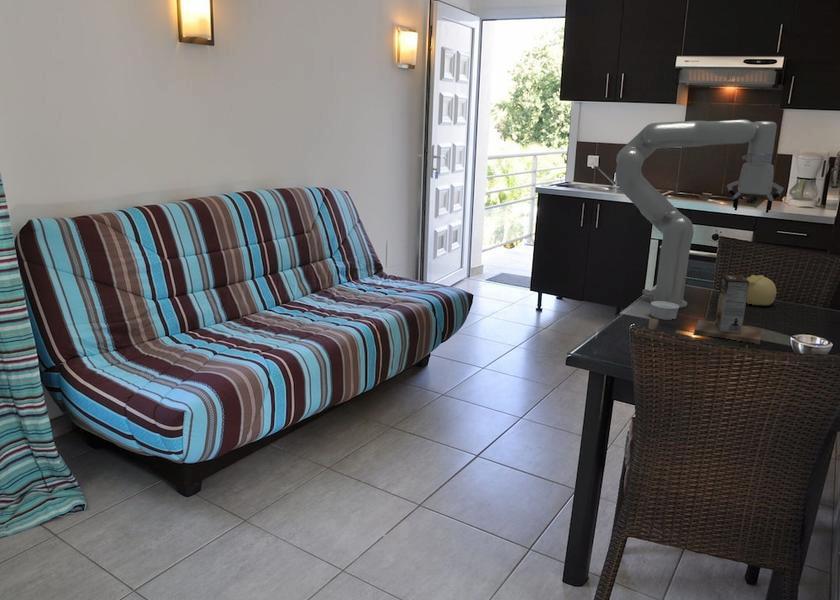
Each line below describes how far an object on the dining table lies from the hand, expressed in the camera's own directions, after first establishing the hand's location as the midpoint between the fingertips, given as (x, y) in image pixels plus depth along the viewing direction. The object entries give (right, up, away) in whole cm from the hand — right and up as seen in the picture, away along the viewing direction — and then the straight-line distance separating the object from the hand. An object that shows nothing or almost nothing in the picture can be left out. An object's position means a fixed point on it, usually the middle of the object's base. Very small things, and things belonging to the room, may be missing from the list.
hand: (751, 211), depth 234 cm
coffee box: (-18, -39, -23) cm, 49 cm away
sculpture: (+10, -32, +17) cm, 37 cm away
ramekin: (-32, -36, -6) cm, 48 cm away
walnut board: (-18, -40, -23) cm, 50 cm away
